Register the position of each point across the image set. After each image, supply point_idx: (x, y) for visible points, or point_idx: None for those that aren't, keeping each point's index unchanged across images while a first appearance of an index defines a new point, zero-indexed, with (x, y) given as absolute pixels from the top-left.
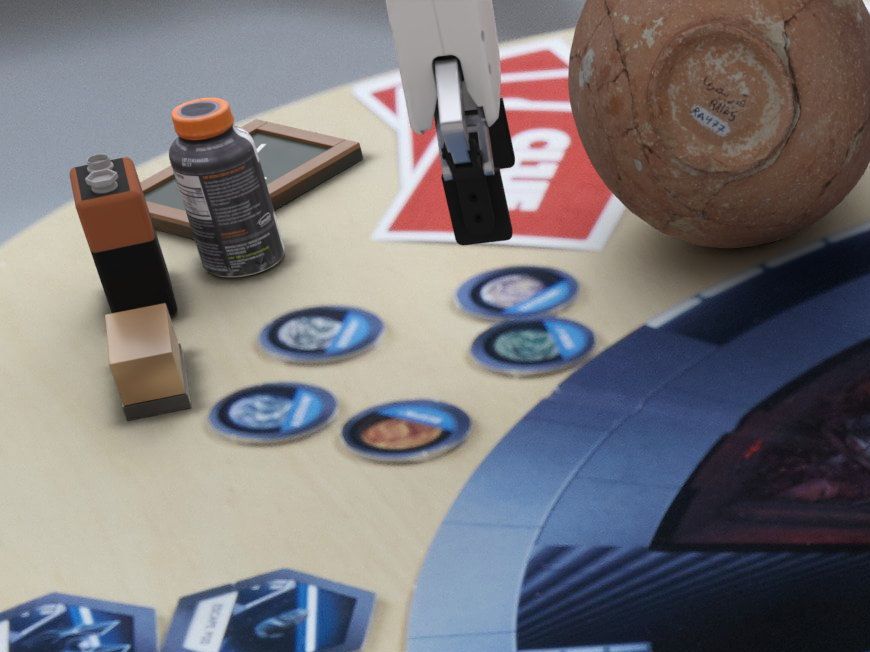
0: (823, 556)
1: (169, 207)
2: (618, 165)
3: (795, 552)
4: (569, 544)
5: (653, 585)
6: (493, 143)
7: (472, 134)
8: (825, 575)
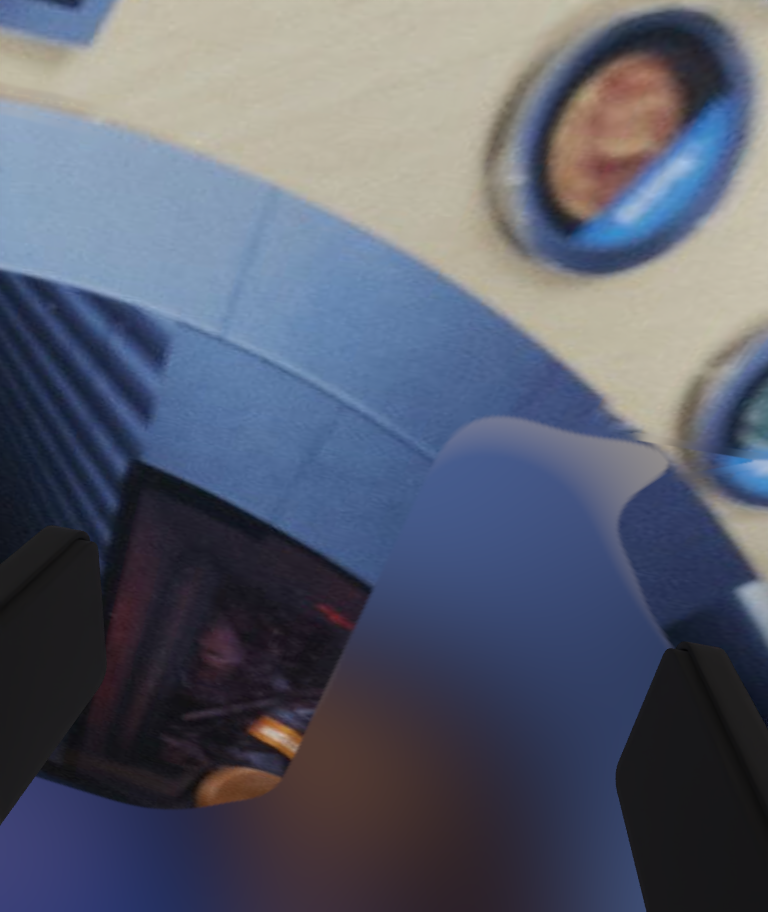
0: None
1: None
2: None
3: None
4: (168, 367)
5: (53, 448)
6: (652, 826)
7: (696, 820)
8: None
